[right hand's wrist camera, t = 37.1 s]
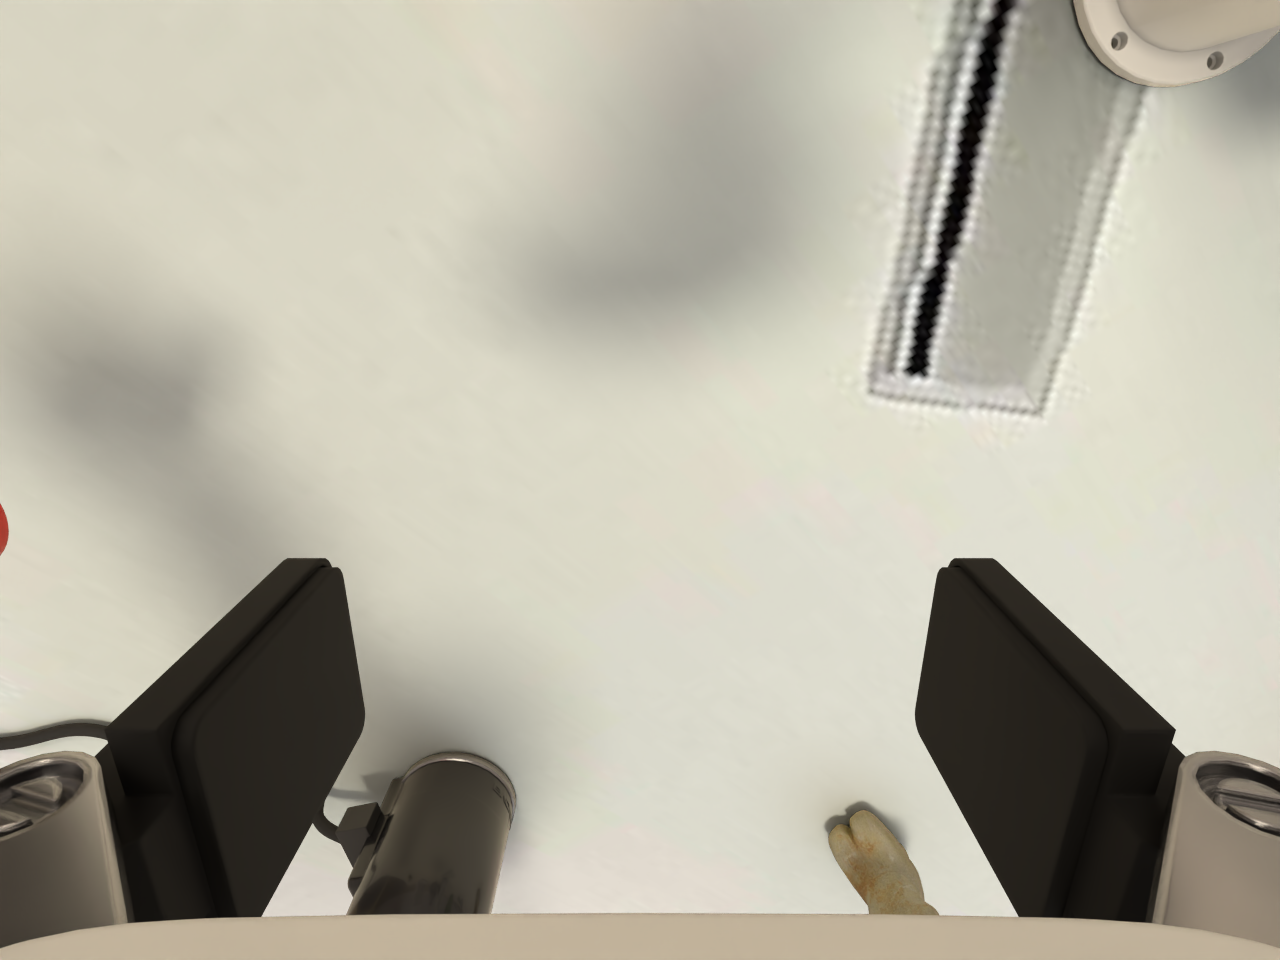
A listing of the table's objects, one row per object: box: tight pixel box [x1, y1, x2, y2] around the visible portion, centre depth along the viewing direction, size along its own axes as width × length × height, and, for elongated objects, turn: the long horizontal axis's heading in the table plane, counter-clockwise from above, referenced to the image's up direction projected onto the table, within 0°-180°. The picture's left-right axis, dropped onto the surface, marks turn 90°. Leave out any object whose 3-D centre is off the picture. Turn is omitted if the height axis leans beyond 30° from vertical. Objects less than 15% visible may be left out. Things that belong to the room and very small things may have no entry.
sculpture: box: [829, 810, 939, 915], centre depth 51 cm, size 6×7×15 cm
